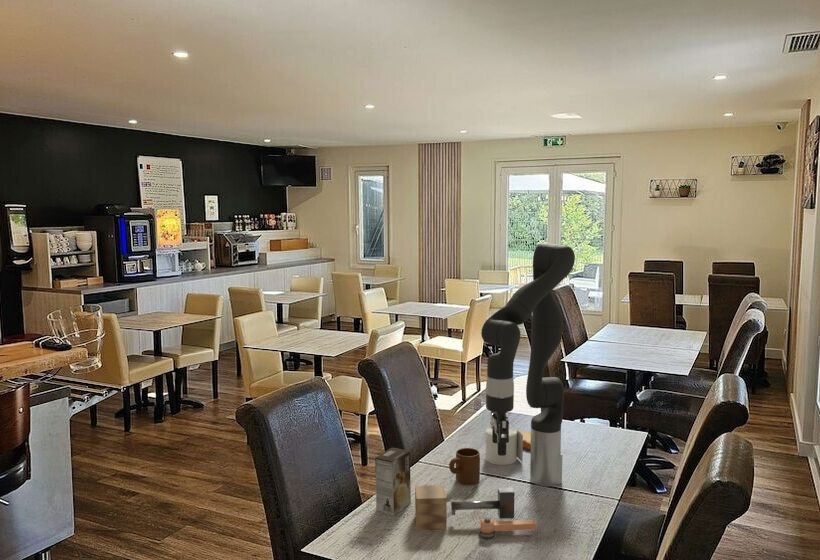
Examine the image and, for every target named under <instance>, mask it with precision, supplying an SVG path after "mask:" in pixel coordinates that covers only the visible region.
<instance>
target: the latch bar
mask: <svg viewBox="0 0 820 560" xmlns="http://www.w3.org/2000/svg"><path fill="white" fill-rule="evenodd" d="M479 526H480V528H479V529H480V530H481V532H483V533H486V534H490V533H493V532H494V531H496V532H502V531H503V532H504V531H506V532H507V531H529V530H532V531H533V530H537V523H536V520H535V519H529V520H527V519H526V520H525V519H524V520H499V521H494V519H492V518H489V517H485V518H484V517H483V518H481V519H480V525H479Z"/></svg>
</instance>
